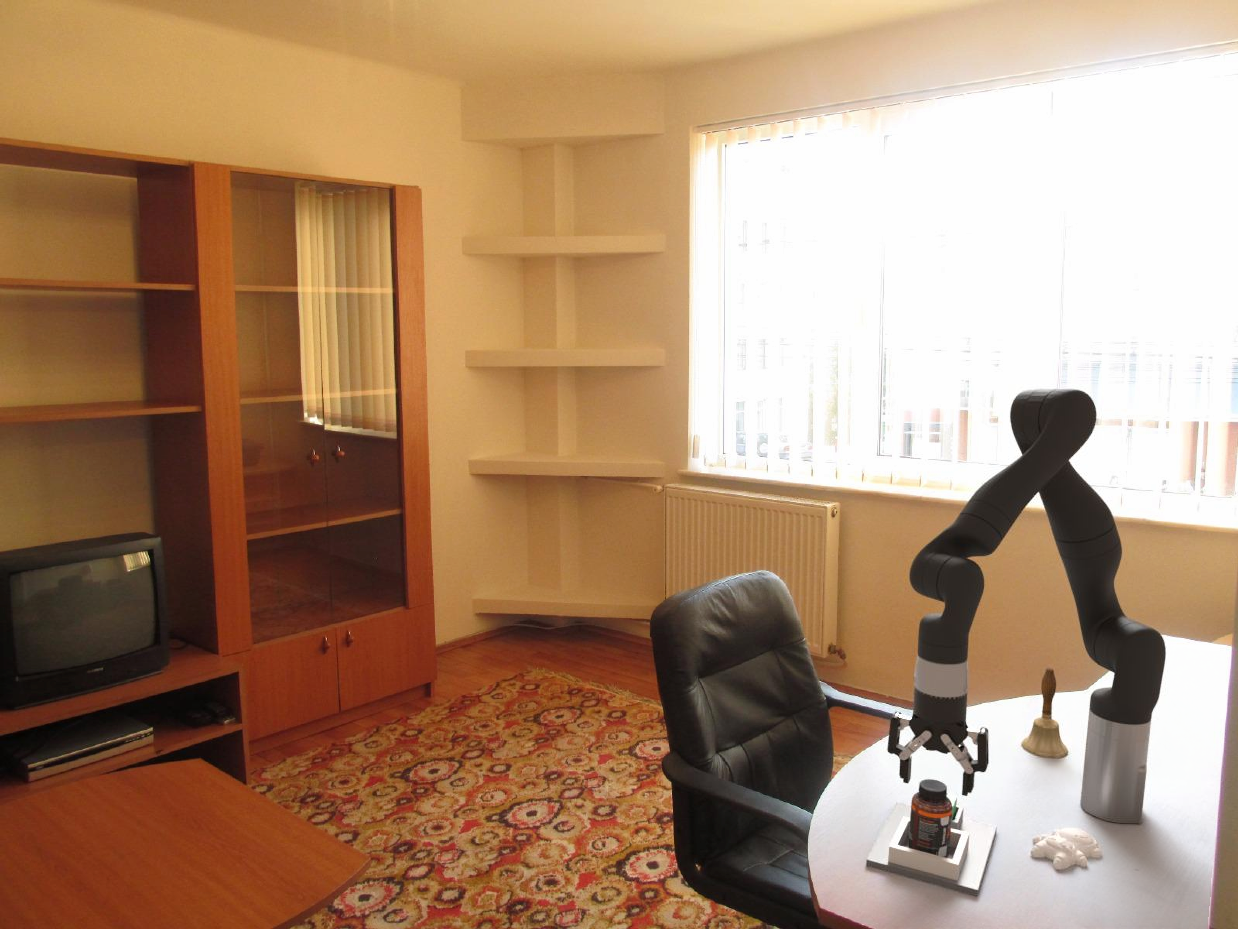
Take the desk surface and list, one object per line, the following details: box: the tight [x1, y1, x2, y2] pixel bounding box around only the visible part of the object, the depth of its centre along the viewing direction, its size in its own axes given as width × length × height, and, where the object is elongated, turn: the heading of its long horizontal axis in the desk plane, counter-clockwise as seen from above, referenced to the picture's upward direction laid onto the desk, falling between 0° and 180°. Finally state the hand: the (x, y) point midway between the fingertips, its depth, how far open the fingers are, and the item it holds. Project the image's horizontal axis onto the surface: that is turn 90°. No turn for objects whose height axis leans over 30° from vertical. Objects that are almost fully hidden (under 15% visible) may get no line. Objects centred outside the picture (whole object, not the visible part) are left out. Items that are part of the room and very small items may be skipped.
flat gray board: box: [865, 801, 998, 897], centre depth 153 cm, size 16×20×4 cm
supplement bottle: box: [909, 778, 952, 858], centre depth 149 cm, size 6×6×11 cm
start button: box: [946, 793, 958, 820], centre depth 158 cm, size 4×4×3 cm
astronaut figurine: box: [1030, 827, 1103, 870], centre depth 153 cm, size 9×12×3 cm
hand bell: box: [1020, 667, 1069, 759], centre depth 187 cm, size 8×8×16 cm
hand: (935, 787), depth 148 cm, fingers open, 8 cm apart
